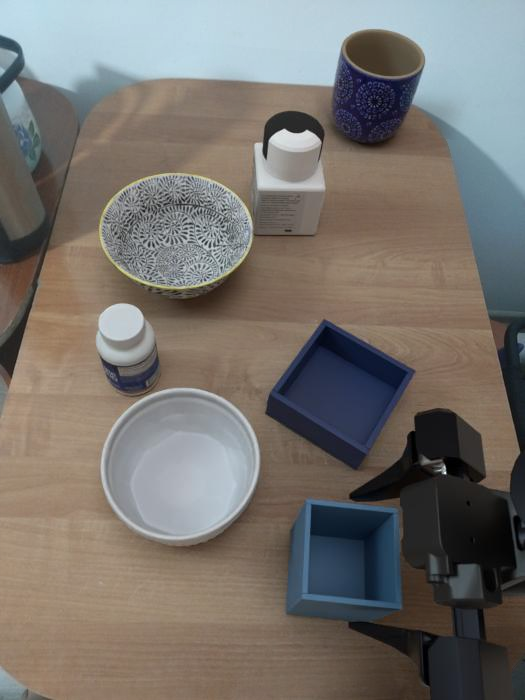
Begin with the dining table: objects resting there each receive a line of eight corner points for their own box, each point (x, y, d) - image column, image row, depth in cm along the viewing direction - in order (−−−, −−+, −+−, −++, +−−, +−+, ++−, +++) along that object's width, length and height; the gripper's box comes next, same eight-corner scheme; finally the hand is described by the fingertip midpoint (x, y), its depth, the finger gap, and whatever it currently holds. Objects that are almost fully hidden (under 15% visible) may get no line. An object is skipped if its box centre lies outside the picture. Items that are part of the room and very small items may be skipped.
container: (250, 190, 72) (257, 100, 61) (309, 191, 73) (327, 102, 62) (253, 235, 68) (261, 148, 57) (315, 236, 69) (335, 150, 58)
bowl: (275, 261, 67) (282, 215, 60) (194, 354, 59) (192, 314, 53) (169, 201, 70) (164, 152, 64) (80, 282, 63) (65, 236, 56)
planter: (315, 108, 82) (328, 32, 72) (382, 99, 84) (404, 24, 75) (342, 158, 77) (360, 83, 67) (413, 147, 79) (441, 73, 69)
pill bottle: (102, 359, 58) (83, 304, 50) (153, 345, 59) (143, 290, 51) (114, 404, 56) (96, 354, 47) (167, 388, 57) (159, 338, 48)
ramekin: (106, 431, 54) (92, 400, 48) (239, 406, 56) (242, 374, 50) (121, 574, 48) (107, 558, 42) (270, 539, 50) (278, 519, 44)
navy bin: (402, 391, 59) (416, 370, 55) (356, 470, 54) (367, 454, 50) (317, 341, 61) (324, 318, 57) (265, 413, 56) (268, 393, 52)
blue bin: (367, 537, 51) (398, 508, 42) (367, 622, 47) (402, 609, 39) (290, 529, 51) (306, 498, 42) (285, 614, 47) (301, 599, 38)
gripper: (500, 347, 33) (292, 406, 42) (560, 729, 23) (273, 696, 33) (562, 416, 40) (371, 454, 49) (627, 733, 30) (374, 705, 39)
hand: (351, 558), depth 42 cm, fingers open, 9 cm apart
